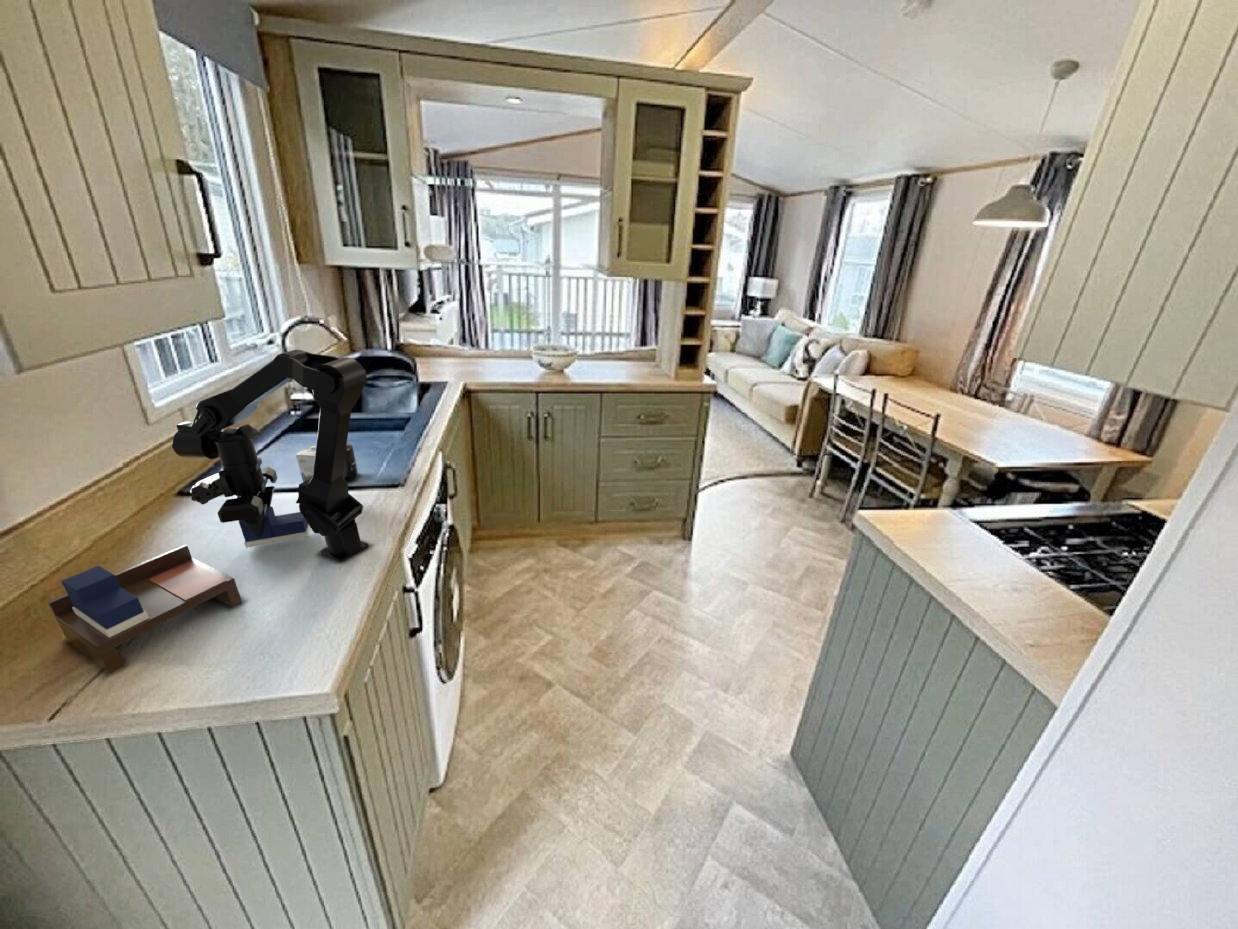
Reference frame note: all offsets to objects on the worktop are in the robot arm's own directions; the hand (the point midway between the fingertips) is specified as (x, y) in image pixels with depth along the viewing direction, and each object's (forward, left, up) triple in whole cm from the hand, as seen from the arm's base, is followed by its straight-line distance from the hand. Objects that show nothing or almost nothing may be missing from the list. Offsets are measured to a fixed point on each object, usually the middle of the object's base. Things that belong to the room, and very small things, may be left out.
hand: (261, 530), depth 105 cm
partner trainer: (-9, +27, +2) cm, 28 cm away
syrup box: (+3, -16, -3) cm, 17 cm away
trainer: (-2, -2, -2) cm, 3 cm away
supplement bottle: (+14, -28, -3) cm, 31 cm away
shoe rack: (-8, +22, -3) cm, 24 cm away
